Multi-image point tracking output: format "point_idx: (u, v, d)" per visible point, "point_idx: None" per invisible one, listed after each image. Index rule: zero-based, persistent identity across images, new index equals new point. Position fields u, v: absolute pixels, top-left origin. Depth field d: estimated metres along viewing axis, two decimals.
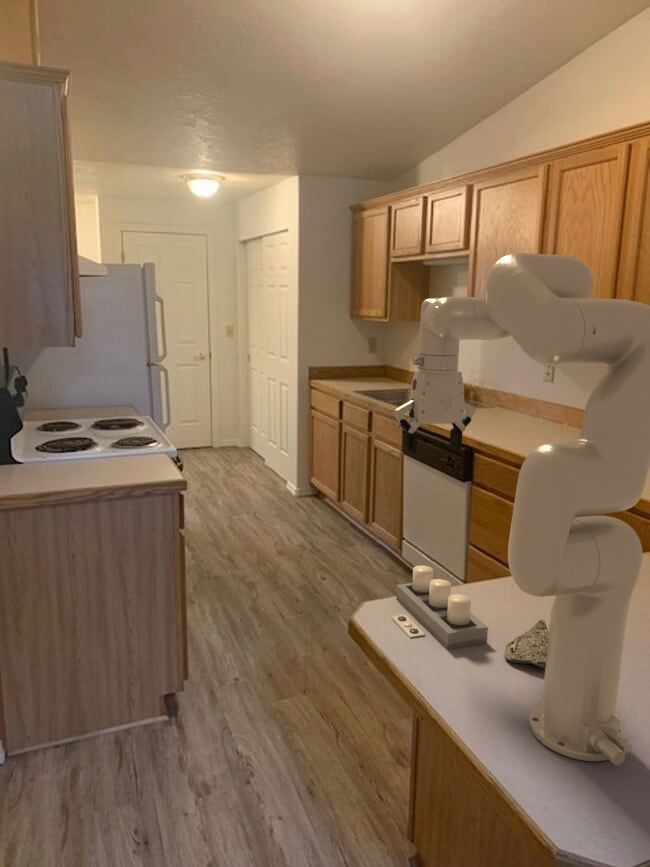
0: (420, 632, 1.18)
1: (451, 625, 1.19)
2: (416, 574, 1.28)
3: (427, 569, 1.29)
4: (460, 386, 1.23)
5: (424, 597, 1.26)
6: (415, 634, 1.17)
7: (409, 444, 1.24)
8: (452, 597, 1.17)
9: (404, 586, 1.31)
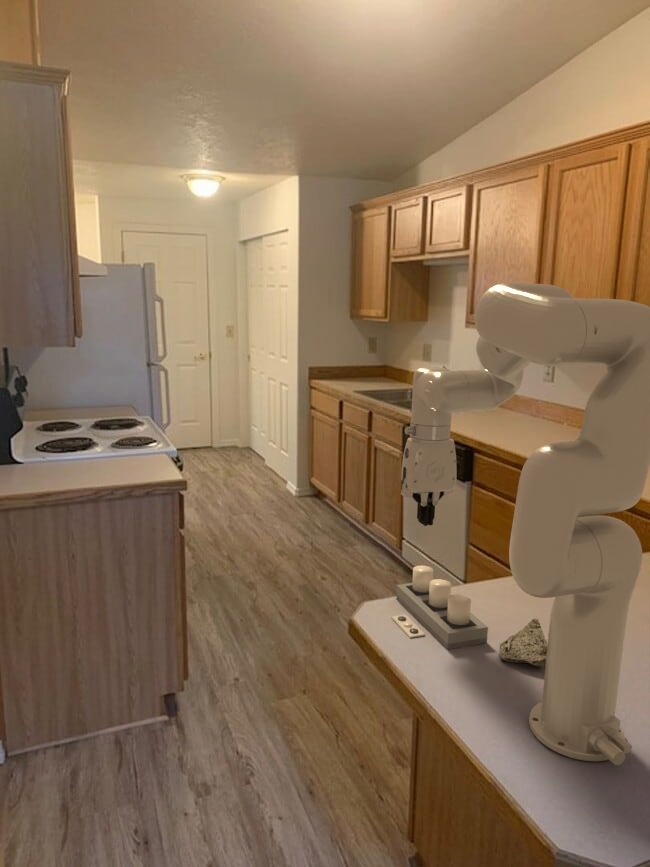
0: (420, 632, 1.18)
1: (451, 625, 1.19)
2: (416, 574, 1.28)
3: (427, 569, 1.29)
4: (452, 454, 1.23)
5: (424, 597, 1.26)
6: (415, 634, 1.17)
7: (421, 516, 1.26)
8: (452, 597, 1.17)
9: (404, 586, 1.31)
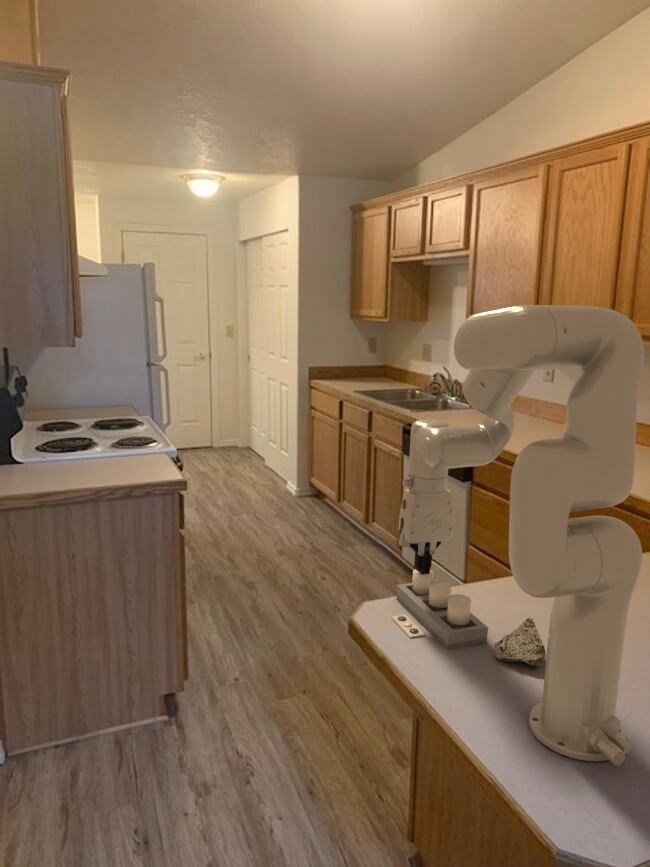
0: (420, 632, 1.18)
1: (451, 625, 1.19)
2: (416, 577, 1.28)
3: None
4: (449, 505, 1.25)
5: (424, 597, 1.26)
6: (415, 634, 1.17)
7: (419, 565, 1.28)
8: (452, 597, 1.17)
9: (404, 586, 1.31)
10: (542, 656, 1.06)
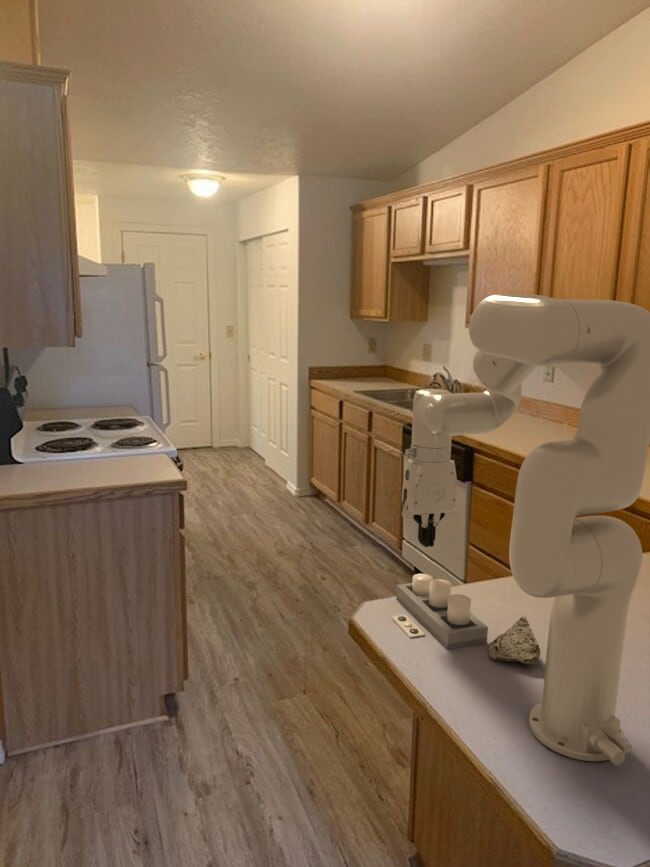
0: (420, 632, 1.18)
1: (451, 625, 1.19)
2: (416, 582, 1.28)
3: (427, 577, 1.30)
4: (453, 476, 1.24)
5: (424, 597, 1.26)
6: (415, 634, 1.17)
7: (422, 538, 1.26)
8: (452, 597, 1.17)
9: (404, 586, 1.31)
10: (537, 655, 1.07)
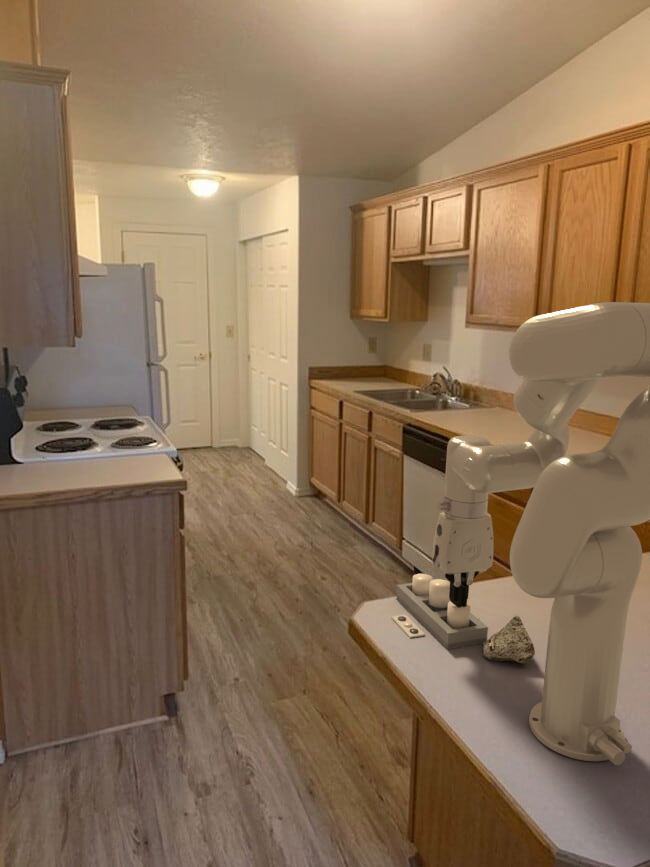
0: (420, 632, 1.18)
1: None
2: (416, 582, 1.28)
3: (427, 577, 1.30)
4: (489, 531, 1.13)
5: (424, 597, 1.26)
6: (415, 634, 1.17)
7: (454, 597, 1.15)
8: (452, 603, 1.17)
9: (404, 586, 1.31)
10: (532, 654, 1.07)
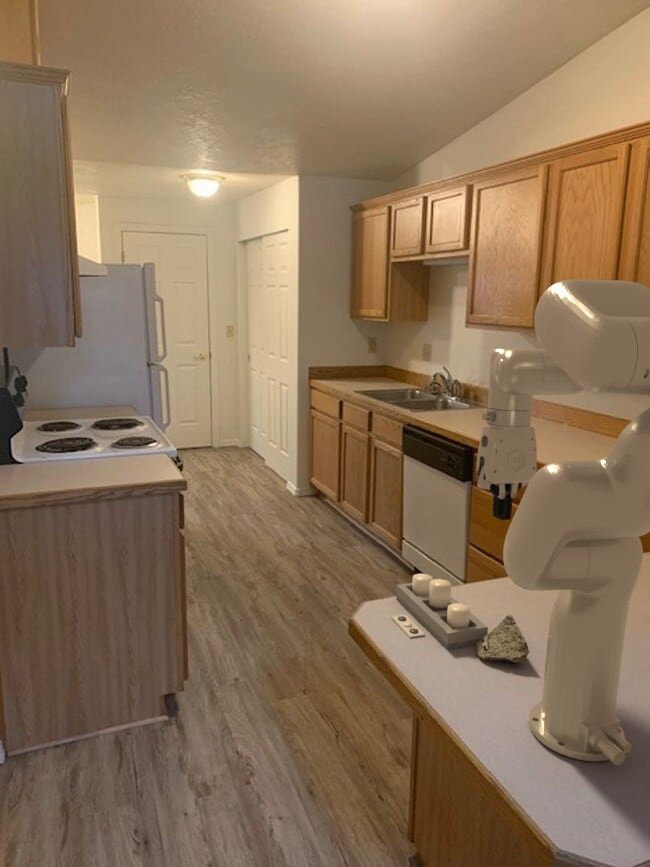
0: (420, 632, 1.18)
1: None
2: (416, 582, 1.28)
3: (427, 577, 1.30)
4: (533, 442, 1.14)
5: (424, 597, 1.26)
6: (415, 634, 1.17)
7: (499, 510, 1.16)
8: (452, 606, 1.17)
9: (404, 586, 1.31)
10: (526, 653, 1.07)
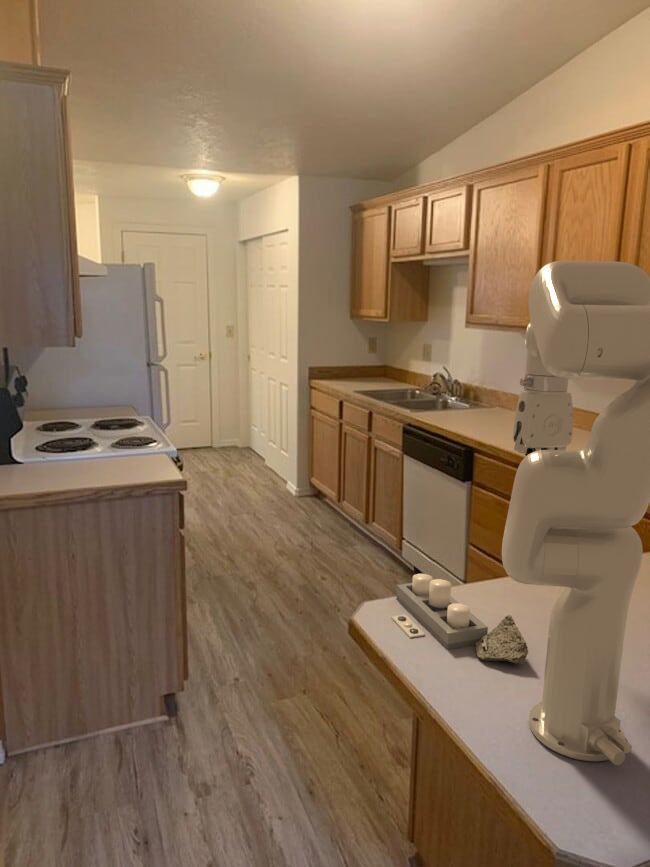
0: (420, 632, 1.18)
1: None
2: (416, 582, 1.28)
3: (427, 577, 1.30)
4: (570, 408, 1.17)
5: (424, 597, 1.26)
6: (415, 634, 1.17)
7: None
8: (452, 606, 1.17)
9: (404, 586, 1.31)
10: (525, 653, 1.07)
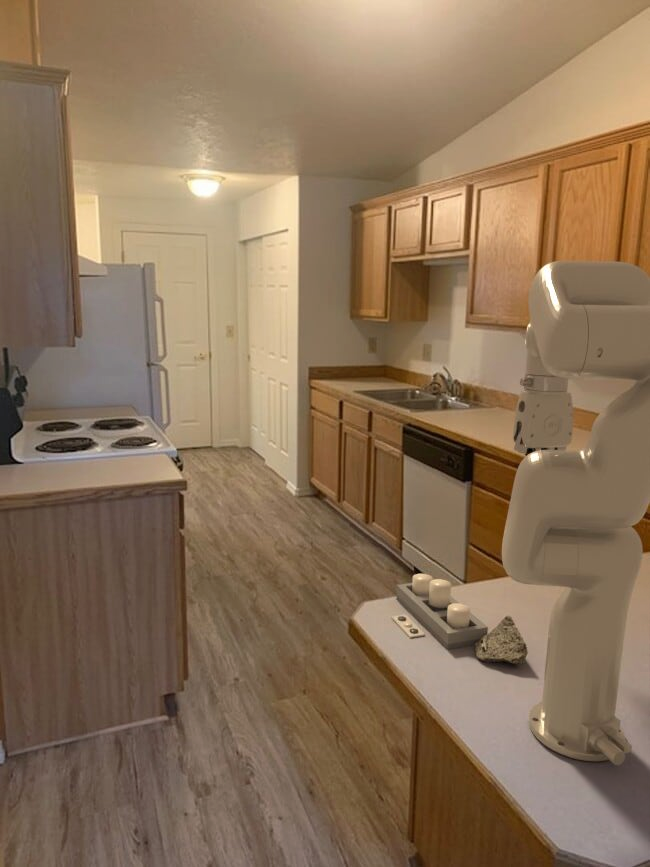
0: (420, 632, 1.18)
1: None
2: (416, 582, 1.28)
3: (427, 577, 1.30)
4: (570, 408, 1.17)
5: (424, 597, 1.26)
6: (415, 634, 1.17)
7: None
8: (452, 606, 1.17)
9: (404, 586, 1.31)
10: (525, 654, 1.07)
